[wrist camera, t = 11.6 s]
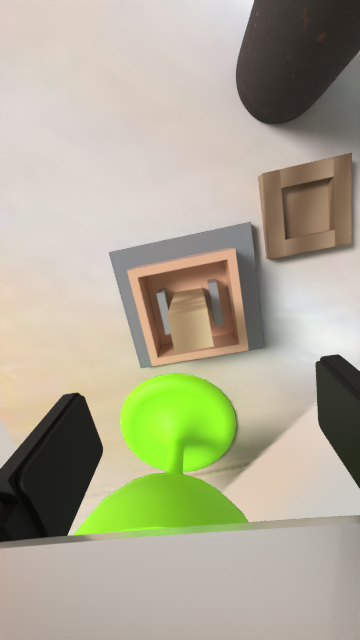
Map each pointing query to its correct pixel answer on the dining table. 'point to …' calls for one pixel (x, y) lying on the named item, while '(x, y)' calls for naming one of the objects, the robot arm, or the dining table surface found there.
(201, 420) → the wineglass
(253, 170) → the dining table surface
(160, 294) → the grey base square tray
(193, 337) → the tan wooden bar
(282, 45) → the container
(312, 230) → the brown square tray
